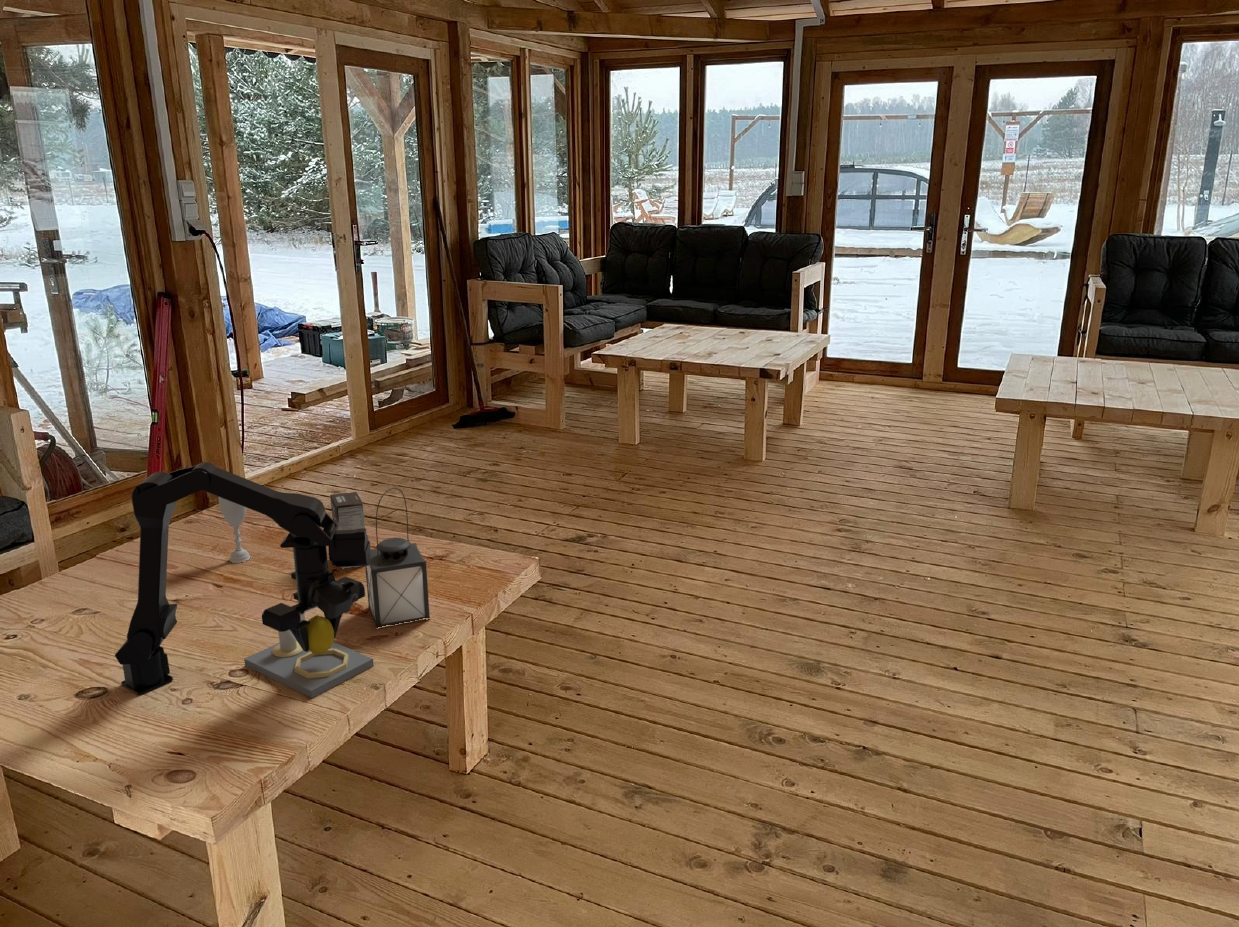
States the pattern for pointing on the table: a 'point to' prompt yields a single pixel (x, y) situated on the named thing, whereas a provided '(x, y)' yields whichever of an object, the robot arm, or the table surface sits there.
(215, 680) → the table surface
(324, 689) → the board
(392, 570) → the lantern
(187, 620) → the table surface
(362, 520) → the coffee box
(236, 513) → the chalice
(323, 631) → the lemon
